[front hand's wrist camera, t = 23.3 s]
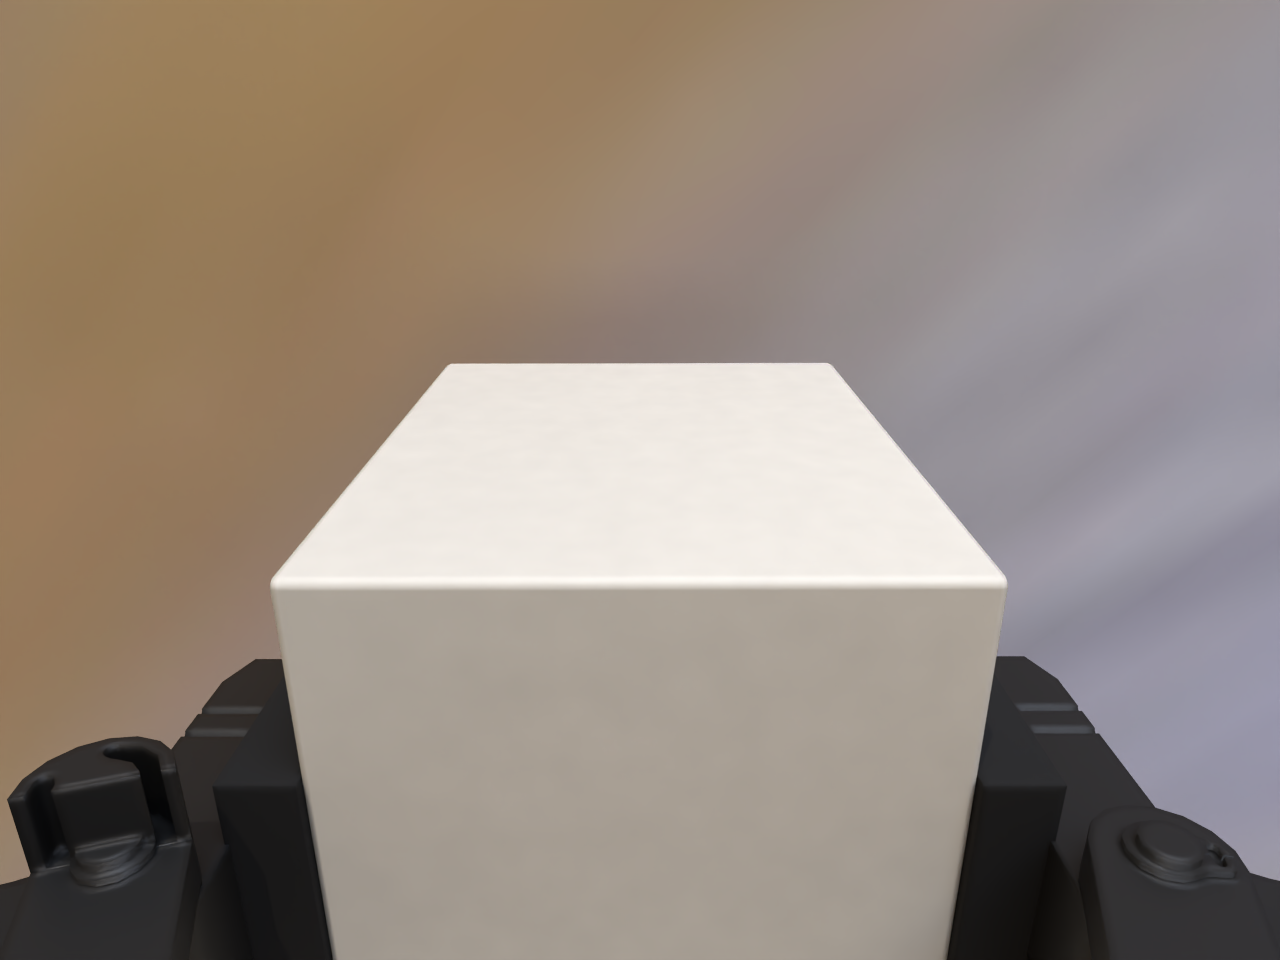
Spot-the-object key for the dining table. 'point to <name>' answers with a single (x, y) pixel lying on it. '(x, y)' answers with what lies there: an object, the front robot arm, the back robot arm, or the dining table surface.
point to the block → (639, 674)
